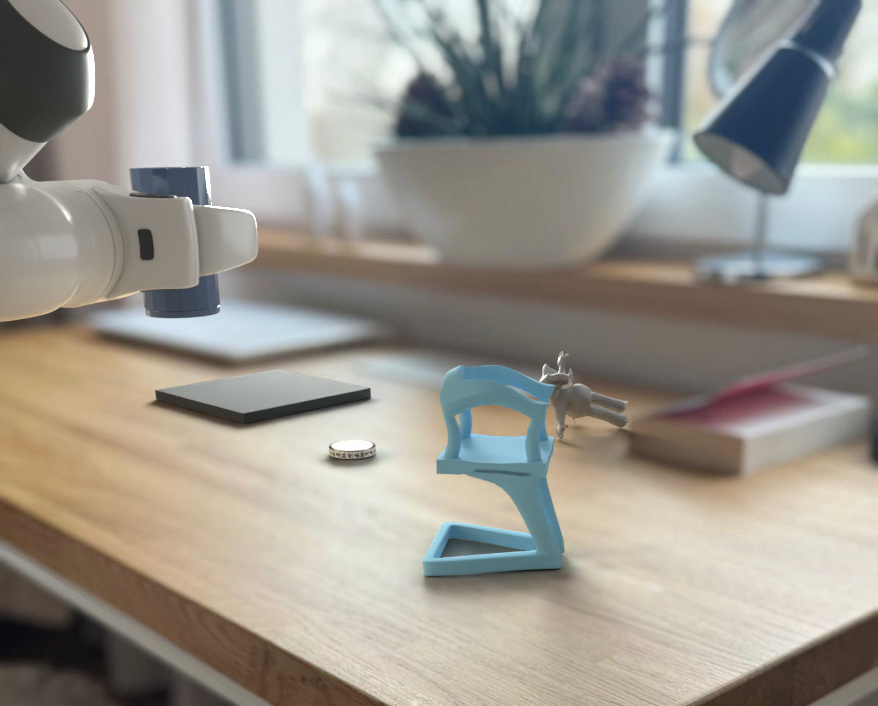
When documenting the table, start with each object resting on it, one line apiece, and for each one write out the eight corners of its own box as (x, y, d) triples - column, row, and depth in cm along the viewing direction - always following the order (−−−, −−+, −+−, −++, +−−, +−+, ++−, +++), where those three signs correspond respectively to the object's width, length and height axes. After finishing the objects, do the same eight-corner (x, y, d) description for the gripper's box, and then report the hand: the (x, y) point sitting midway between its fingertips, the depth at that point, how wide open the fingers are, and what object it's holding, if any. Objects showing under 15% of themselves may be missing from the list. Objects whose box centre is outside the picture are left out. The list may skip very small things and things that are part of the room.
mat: (155, 399, 113) (154, 390, 113) (279, 377, 124) (278, 368, 123) (244, 423, 103) (243, 413, 102) (371, 397, 113) (370, 387, 112)
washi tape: (375, 445, 94) (375, 438, 94) (376, 458, 90) (376, 450, 90) (329, 447, 94) (329, 440, 93) (328, 459, 90) (327, 451, 90)
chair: (559, 583, 64) (565, 381, 59) (421, 576, 65) (417, 378, 61) (567, 540, 71) (573, 356, 66) (442, 534, 72) (440, 354, 68)
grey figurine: (643, 442, 95) (551, 412, 92) (607, 477, 100) (520, 449, 97) (640, 355, 100) (553, 324, 97) (606, 392, 104) (523, 363, 102)
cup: (132, 313, 95) (115, 168, 91) (194, 306, 99) (181, 166, 95) (170, 320, 91) (155, 168, 87) (234, 312, 95) (222, 166, 91)
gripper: (-22, 281, 85) (82, 264, 98) (209, 289, 80) (289, 269, 92) (-36, 197, 83) (73, 190, 95) (201, 198, 77) (284, 190, 89)
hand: (181, 229), depth 93 cm, fingers closed on cup, 6 cm apart
